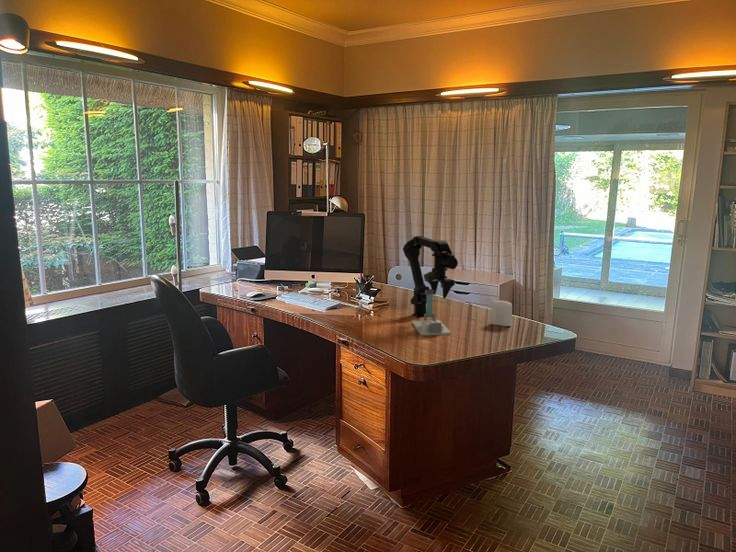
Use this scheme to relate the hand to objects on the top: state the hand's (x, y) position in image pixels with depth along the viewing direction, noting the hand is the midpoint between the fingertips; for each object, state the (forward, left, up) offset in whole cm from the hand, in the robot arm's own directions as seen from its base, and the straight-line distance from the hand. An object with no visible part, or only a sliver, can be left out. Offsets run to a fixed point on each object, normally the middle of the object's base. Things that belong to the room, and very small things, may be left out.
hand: (439, 296), depth 270 cm
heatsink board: (+7, -12, -13) cm, 19 cm away
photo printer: (+24, +19, -13) cm, 33 cm away
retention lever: (+5, -11, -7) cm, 14 cm away
